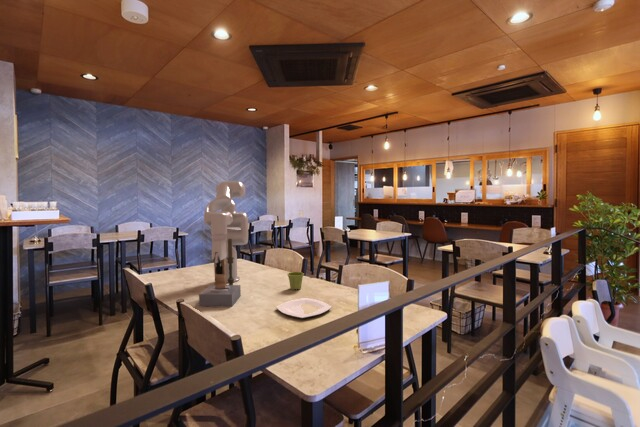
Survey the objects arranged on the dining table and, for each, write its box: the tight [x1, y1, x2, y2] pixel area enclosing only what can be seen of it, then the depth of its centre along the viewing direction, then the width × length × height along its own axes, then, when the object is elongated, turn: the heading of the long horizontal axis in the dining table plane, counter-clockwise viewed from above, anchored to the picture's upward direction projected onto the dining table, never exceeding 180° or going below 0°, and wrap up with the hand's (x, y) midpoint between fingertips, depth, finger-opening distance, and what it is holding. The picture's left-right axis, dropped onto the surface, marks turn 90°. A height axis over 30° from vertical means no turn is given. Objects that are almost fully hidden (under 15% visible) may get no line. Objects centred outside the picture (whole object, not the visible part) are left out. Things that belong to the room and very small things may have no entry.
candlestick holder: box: [227, 239, 235, 285], centre depth 189 cm, size 9×9×30 cm
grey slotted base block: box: [198, 284, 242, 308], centre depth 172 cm, size 16×16×7 cm
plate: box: [275, 297, 333, 319], centre depth 159 cm, size 23×23×2 cm
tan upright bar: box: [213, 259, 227, 288], centre depth 170 cm, size 2×5×14 cm, turn 89°
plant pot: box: [287, 271, 305, 290], centre depth 193 cm, size 9×9×9 cm
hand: (220, 273), depth 170 cm, fingers closed on tan upright bar, 2 cm apart
